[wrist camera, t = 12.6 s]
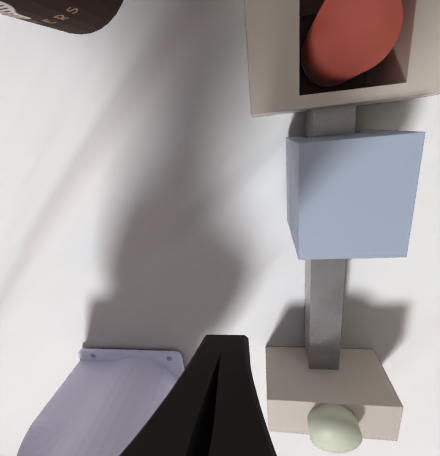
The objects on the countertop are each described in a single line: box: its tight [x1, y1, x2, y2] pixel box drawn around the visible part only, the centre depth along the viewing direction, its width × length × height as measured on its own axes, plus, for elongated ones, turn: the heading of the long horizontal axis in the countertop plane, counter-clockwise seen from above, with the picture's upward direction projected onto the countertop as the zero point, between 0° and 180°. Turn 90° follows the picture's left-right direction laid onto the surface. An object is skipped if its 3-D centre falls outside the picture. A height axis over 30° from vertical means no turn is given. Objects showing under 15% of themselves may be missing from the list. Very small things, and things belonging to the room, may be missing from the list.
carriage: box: [286, 129, 425, 260], centre depth 13 cm, size 4×5×6 cm
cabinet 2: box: [266, 347, 403, 453], centre depth 19 cm, size 8×3×6 cm, turn 96°
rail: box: [305, 105, 356, 370], centre depth 17 cm, size 2×17×2 cm, turn 6°
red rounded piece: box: [301, 0, 403, 86], centre depth 11 cm, size 3×3×4 cm
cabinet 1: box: [245, 0, 440, 117], centre depth 12 cm, size 8×5×4 cm, turn 96°
